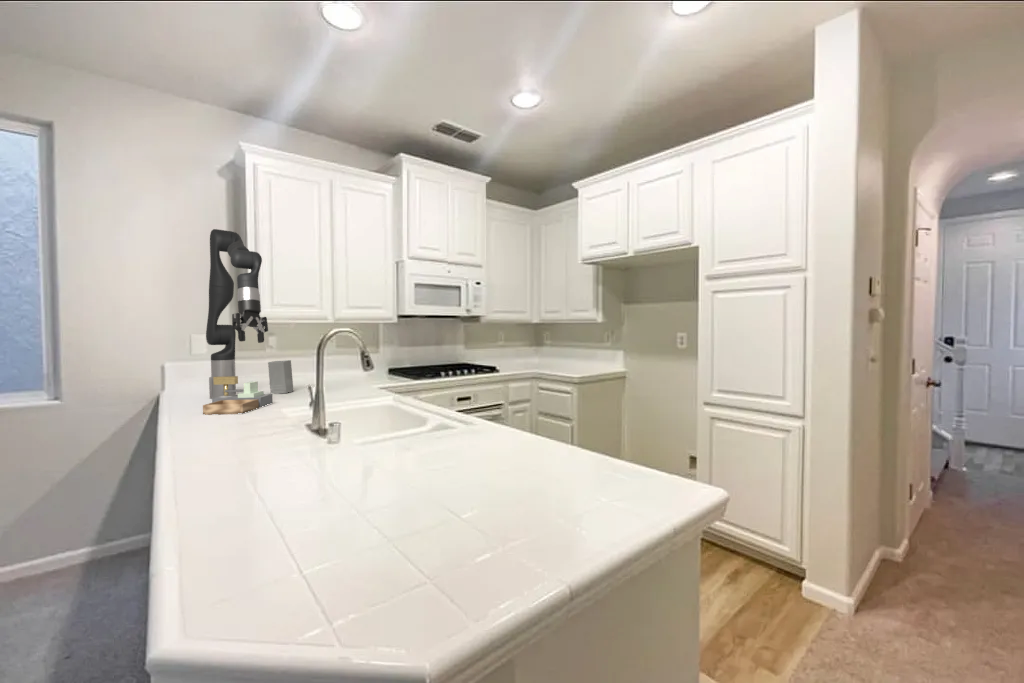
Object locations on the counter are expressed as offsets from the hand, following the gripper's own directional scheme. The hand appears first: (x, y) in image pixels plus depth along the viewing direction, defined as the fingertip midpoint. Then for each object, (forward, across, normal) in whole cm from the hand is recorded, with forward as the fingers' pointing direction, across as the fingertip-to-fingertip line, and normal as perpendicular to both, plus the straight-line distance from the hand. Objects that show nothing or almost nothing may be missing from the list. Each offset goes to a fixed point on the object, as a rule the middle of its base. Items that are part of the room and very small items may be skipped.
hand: (251, 341), depth 168 cm
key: (+19, -4, -17) cm, 25 cm away
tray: (+26, +4, -7) cm, 27 cm away
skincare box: (+19, -42, -27) cm, 53 cm away
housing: (+24, -6, -13) cm, 28 cm away
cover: (+20, -7, -9) cm, 23 cm away
